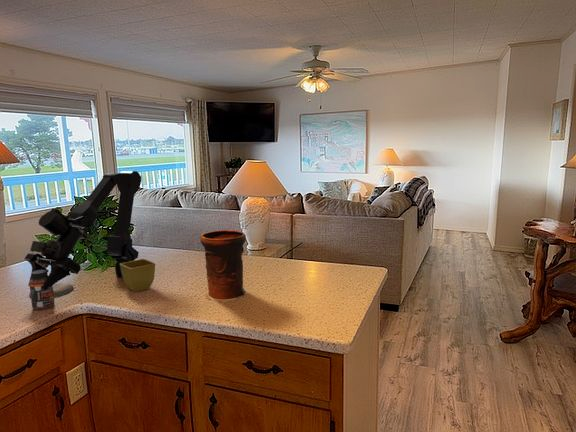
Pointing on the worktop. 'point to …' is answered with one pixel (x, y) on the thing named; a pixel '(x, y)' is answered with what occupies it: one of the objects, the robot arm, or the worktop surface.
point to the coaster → (61, 289)
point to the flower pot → (138, 274)
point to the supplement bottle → (40, 291)
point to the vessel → (224, 264)
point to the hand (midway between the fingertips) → (36, 287)
